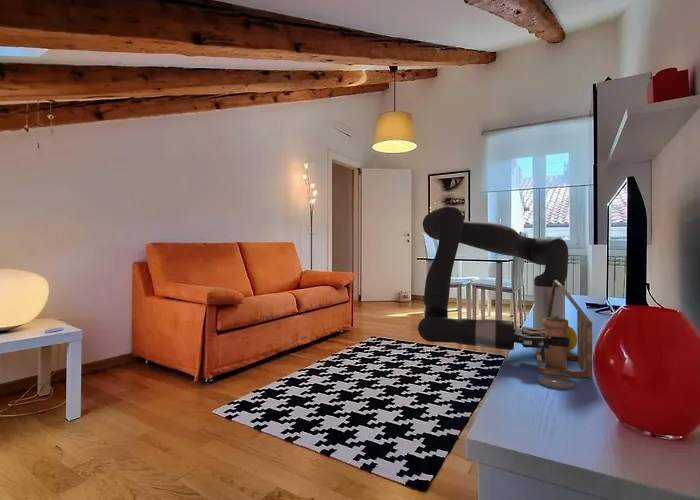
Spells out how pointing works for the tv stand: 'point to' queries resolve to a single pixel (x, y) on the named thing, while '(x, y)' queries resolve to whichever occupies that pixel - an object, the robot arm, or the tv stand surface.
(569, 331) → the lemon
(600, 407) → the tv stand surface
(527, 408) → the tv stand surface
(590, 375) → the cold frame
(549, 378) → the grey-brown flat disc
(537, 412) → the tv stand surface
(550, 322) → the pot
